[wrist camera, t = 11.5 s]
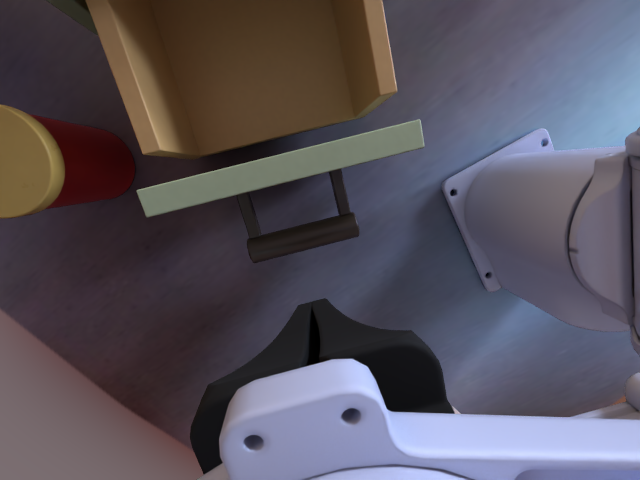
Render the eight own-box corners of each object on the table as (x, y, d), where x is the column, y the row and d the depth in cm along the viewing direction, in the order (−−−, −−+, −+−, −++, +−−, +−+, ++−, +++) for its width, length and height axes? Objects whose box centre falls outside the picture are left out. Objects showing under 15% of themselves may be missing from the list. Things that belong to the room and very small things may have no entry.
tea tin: (153, 179, 20) (76, 184, 13) (92, 214, 20) (-16, 238, 13) (106, 111, 19) (-5, 77, 12) (42, 149, 19) (-104, 137, 12)
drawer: (392, 212, 21) (438, 232, 14) (215, 258, 20) (177, 300, 14) (339, -72, 17) (367, -227, 10) (119, -21, 17) (4, -147, 10)
